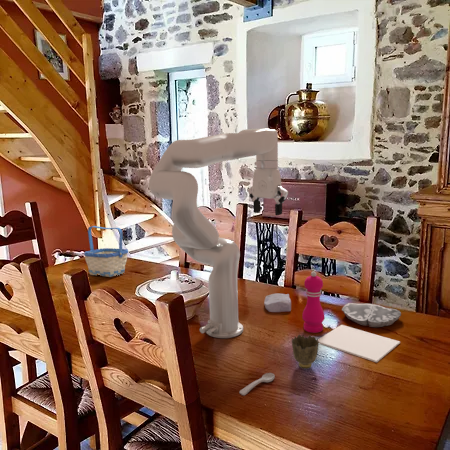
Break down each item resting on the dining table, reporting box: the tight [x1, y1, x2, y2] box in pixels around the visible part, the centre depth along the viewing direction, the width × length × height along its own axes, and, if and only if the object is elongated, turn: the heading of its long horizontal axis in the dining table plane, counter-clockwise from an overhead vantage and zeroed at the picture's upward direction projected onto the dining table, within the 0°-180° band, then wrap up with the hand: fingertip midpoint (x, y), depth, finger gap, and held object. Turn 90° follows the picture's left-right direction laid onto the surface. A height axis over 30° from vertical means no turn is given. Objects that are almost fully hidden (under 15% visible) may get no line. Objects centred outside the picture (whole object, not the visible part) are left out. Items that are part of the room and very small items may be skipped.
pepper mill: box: [302, 270, 326, 334], centre depth 149 cm, size 7×7×20 cm
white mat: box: [317, 324, 401, 363], centre depth 140 cm, size 16×20×1 cm
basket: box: [83, 225, 129, 278], centre depth 218 cm, size 21×16×24 cm
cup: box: [291, 334, 320, 370], centre depth 126 cm, size 8×7×8 cm
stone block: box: [263, 293, 292, 313], centre depth 172 cm, size 12×5×10 cm
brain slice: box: [341, 302, 402, 328], centre depth 157 cm, size 20×17×3 cm
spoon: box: [239, 372, 275, 396], centre depth 118 cm, size 3×12×2 cm, turn 131°
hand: (267, 213), depth 162 cm, fingers open, 9 cm apart
